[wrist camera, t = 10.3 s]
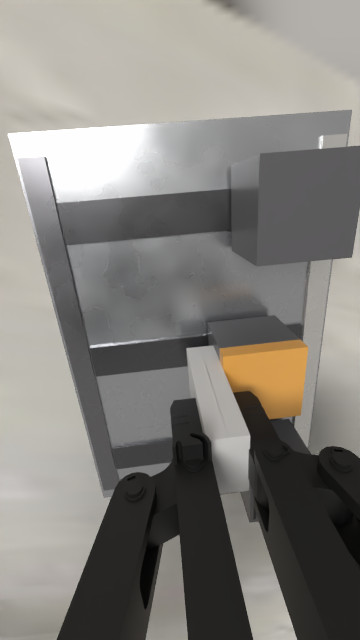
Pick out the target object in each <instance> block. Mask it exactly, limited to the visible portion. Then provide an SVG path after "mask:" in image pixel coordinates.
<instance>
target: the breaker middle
mask: <svg viewBox="0 0 360 640" xmlns="http://www.w3.org/2000/svg"><path fill="white" fill-rule="evenodd" d="M208 343H209V346H212V345H213V346H214V349H215V351H216V353H217V356H218V358H219V361H220V363H221V365H222V368H223V370H224V373H225V375H226V377H227V380H228V382H229V385H230V387H231V390H232V392H233V393H234V392H243V391H250V392H252V393H253V394H254V395H255V396H257V397H258V399H259V401H260V403H261V405H262V407H263V408H264V410H265V413H266V414H267V416H268V418H269V419H276V418H284V417H292V416H300V415H301V410H302V401H303V392H304V383H305V374H306V365H307V355H308V346H307V345H306V344H305V343H304V342H303V341H301V340H300V339H299V338H298V337H297V336H296V335H295V334H294V333H293V332H292V331H291V330H290V329H289V328H288V327H287V326H286V325H285V324H283V323H282V322H281V321H280V320H279V319H278V318H277V317H276V316H275V315H272V316H263V317H253V318H244V319H234V320H225V321H216V322H208Z"/></svg>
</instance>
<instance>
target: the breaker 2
mask: <svg viewBox="0 0 360 640" xmlns="http://www.w3.org/2000/svg"><path fill="white" fill-rule="evenodd" d="M270 422H271V424H272V425H273V427H274V429H275V431H276V433H277V435H278V437H279V439H280V440H282V441H283V442H285V443H286V444H288V445H289V446H290V448H291V449H292V450H294V451H296V452H300V453H304V454H311V453H310V452H309V450H308V448H307V447H306V445H305V443H304V442H303V440H302V439H301V437H300V435H299V434H298V432H297V431H296V429H295V427H294V426H293V424H292V423H291V421H290V419H284V420H276V421H270ZM241 495H242V499H243V502H244V505H245V509H246V512H247V515H248V518H249V522H257V521H259V520H258V517H257V514H256V519H254V520H253V513H252V512H253V491H252V488H251V485H250V482H249V491H243V492H241Z"/></svg>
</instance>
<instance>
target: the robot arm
mask: <svg viewBox="0 0 360 640" xmlns="http://www.w3.org/2000/svg"><path fill="white" fill-rule="evenodd" d="M186 350H187V363H188V376H189V389H190V395H191V398H189V399H181V400H174V401H173V403H172V405H171V407H170V415H171V428H172V440H173V445H172V452H173V459H172V461H171V463H170V464H169V466H168V467H167V468H166V469H165V470H163V471H161V472H160V473H158V474H156V475H153V476H151V477H150V476H149V475H148V474H146V473H142V472H135V473H131V474H129V475H126V476H125V477H124V478H122V479H121V480H120V481H119V482H118V484H117V486H116V487H115V490H114V492H113V495H112V497H111V500H110V503H109V505H108V508H107V510H106V513H105V516H104V518H103V521H102V523H101V526H100V529H99V531H98V534H97V536H96V539H95V542H94V544H93V547H92V549H91V552H90V555H89V557H88V560H87V562H86V565H85V568H84V570H83V573H82V575H81V578H80V581H79V583H78V586H77V588H76V591H75V594H74V596H73V599H72V601H71V604H70V607H69V609H68V612H67V614H66V617H65V620H64V622H63V625H62V627H61V630H60V633H59V635H58V638H57V640H145V638H146V633H147V628H148V622H149V617H150V612H151V606H152V601H153V595H154V590H155V585H156V579H157V574H158V569H159V563H160V558H161V552H162V547H163V543H165V542H166V541H168V540H170V539H172V538H174V537H176V536H177V535H179V534H180V544H181V557H182V569H183V581H184V593H185V606H186V618H187V630H188V640H253V637H252V633H251V628H250V624H249V620H248V615H247V611H246V606H245V602H244V598H243V593H242V589H241V585H240V580H239V576H238V571H237V567H236V563H235V558H234V554H233V550H232V545H231V541H230V536H229V532H228V528H227V523H226V519H225V515H224V510H223V506H222V501H221V497H220V494H228V493H235V492H243V491H249V482H250V485H251V488H252V491H253V512H252V513H253V520H254V519H256V514H257V517H258V520H259V523H260V526H261V529H262V533H263V536H264V539H265V542H266V545H267V548H268V551H269V554H270V557H271V560H272V563H273V566H274V569H275V572H276V575H277V579H278V582H279V585H280V588H281V591H282V594H283V597H284V600H285V603H286V606H287V609H288V612H289V615H290V618H291V621H292V625H293V628H294V631H295V634H296V637H297V640H360V458H359V457H358V456H356V455H355V454H353V453H352V452H351V451H349V450H346V449H344V448H341V447H335V446H331V447H325V448H324V449H323V450H321V452H320V454H319V456H318V455H311V454H304V453H300V452H296V451H294V450H292V449H291V448H290V446H289V445H288V444H286V443H285V442H283V441H282V440H280V439H279V437H278V435H277V433H276V431H275V429H274V427H273V425H272V424H271V422H270V420H269V418H268V416H267V414H266V413H265V410H264V408H263V407H262V405H261V403H260V401H259V399H258V397H257V396H255V395H254V394H253V393H252V392H250V391H243V392H234V393H233V392H232V390H231V387H230V385H229V382H228V380H227V377H226V375H225V373H224V370H223V368H222V365H221V363H220V361H219V358H218V356H217V353H216V351H215V349H214V346H213V345H212V346H203V347H193V348H186Z"/></svg>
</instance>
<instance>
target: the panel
mask: <svg viewBox="0 0 360 640" xmlns="http://www.w3.org/2000/svg"><path fill="white" fill-rule="evenodd" d="M351 114H352V110H342V111H328V112H313V113H299V114H285V115H270V116H256V117H242V118H227V119H213V120H199V121H184V122H170V123H156V124H141V125H127V126H113V127H98V128H84V129H70V130H55V131H41V132H27V133H12V134H8V135H9V139H10V143H11V147H12V150H13V154H14V158H15V162H16V166H17V169H18V173H19V177H20V181H21V185H22V188H23V192H24V196H25V200H26V204H27V207H28V211H29V215H30V219H31V223H32V226H33V230H34V234H35V238H36V242H37V245H38V249H39V253H40V257H41V261H42V264H43V268H44V272H45V276H46V280H47V283H48V287H49V291H50V295H51V299H52V302H53V306H54V310H55V314H56V318H57V321H58V325H59V329H60V333H61V336H62V340H63V344H64V348H65V352H66V355H67V359H68V363H69V367H70V371H71V374H72V378H73V382H74V386H75V390H76V393H77V397H78V401H79V405H80V409H81V412H82V416H83V420H84V424H85V428H86V431H87V435H88V439H89V443H90V447H91V450H92V454H93V458H94V462H95V466H96V469H97V473H98V477H99V481H100V485H101V488H102V492H103V496H104V498H105V497H112V495H113V492H114V490H115V487H116V486H117V484H118V482H119V481H120V480H121V479H122V478H124V477H125V476H126V475H129V474H131V473H135V472H142V473H146V474H148V475H149V476H150V477H151V476H153V475H156V474H158V473H160V472H161V471H163V470H165V469H166V468H167V467H168V466H169V464H170V463H171V461H172V459H173V452H172V445H173V440H172V428H171V415H170V407H171V405H172V403H173V401H174V400H181V399H189V398H191V395H190V389H189V376H188V363H187V350H186V348H193V347H203V346H209V343H208V322H216V321H225V320H234V319H244V318H253V317H263V316H272V315H275V316H276V317H277V318H278V319H279V320H280V321H281V322H282V323H283V324H285V325H286V326H287V327H288V328H289V329H290V330H291V331H292V332H293V333H294V334H295V335H296V336H297V337H298V338H299V339H300V340H301V341H303V342H304V343H305V344H306V345H307V346H308V355H307V365H306V374H305V383H304V392H303V401H302V410H301V415H300V416H292V417H284V418H276V419H269V420H270V421H276V420H284V419H290V421H291V423H292V424H293V426H294V427H295V429H296V431H297V432H298V434H299V435H300V437H301V439H302V440H303V442H304V443H305V445H306V447H307V448H308V447H309V439H310V431H311V424H312V416H313V408H314V400H315V393H316V385H317V377H318V369H319V362H320V354H321V346H322V339H323V331H324V323H325V315H326V308H327V300H328V292H329V284H330V277H331V269H332V261H333V259H330V260H320V261H309V262H299V263H289V264H279V265H268V266H258V267H256V266H255V265H253V264H252V263H250V262H249V261H247V260H246V259H244V258H242V257H241V256H239V255H238V254H236V253H235V252H233V251H232V233H231V165H234V164H236V163H238V162H241V161H243V160H245V159H248V158H250V157H252V156H255V155H257V154H260V153H272V152H285V151H298V150H311V149H324V148H337V147H347V145H348V137H349V130H350V122H351Z"/></svg>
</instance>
